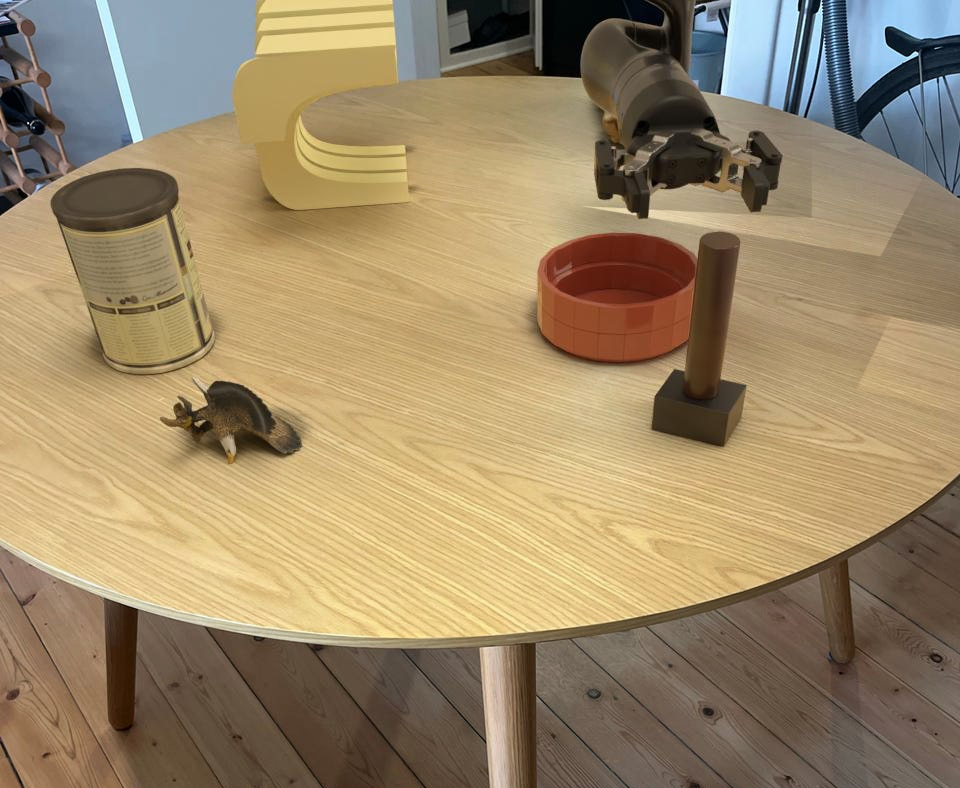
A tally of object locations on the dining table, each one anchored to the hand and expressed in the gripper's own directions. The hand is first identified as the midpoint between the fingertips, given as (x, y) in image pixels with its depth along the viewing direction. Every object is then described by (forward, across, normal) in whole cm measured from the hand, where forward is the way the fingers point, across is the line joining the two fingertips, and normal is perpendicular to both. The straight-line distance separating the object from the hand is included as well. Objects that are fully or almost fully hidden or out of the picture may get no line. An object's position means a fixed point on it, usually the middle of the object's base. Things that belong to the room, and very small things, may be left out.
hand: (701, 203), depth 76 cm
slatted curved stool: (-46, -32, +15) cm, 58 cm away
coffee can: (-10, -46, +15) cm, 50 cm away
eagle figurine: (+7, -37, +15) cm, 40 cm away
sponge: (-59, +5, +15) cm, 61 cm away
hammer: (+7, 0, +15) cm, 16 cm away
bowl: (-9, -4, +15) cm, 18 cm away
